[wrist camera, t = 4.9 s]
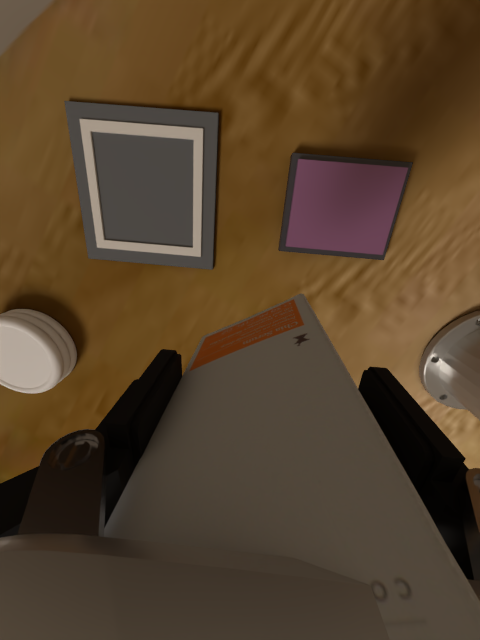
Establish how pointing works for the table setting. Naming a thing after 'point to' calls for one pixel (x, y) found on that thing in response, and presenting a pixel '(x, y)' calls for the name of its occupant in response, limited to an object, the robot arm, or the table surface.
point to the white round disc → (34, 351)
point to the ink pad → (341, 205)
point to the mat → (146, 182)
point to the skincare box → (294, 474)
